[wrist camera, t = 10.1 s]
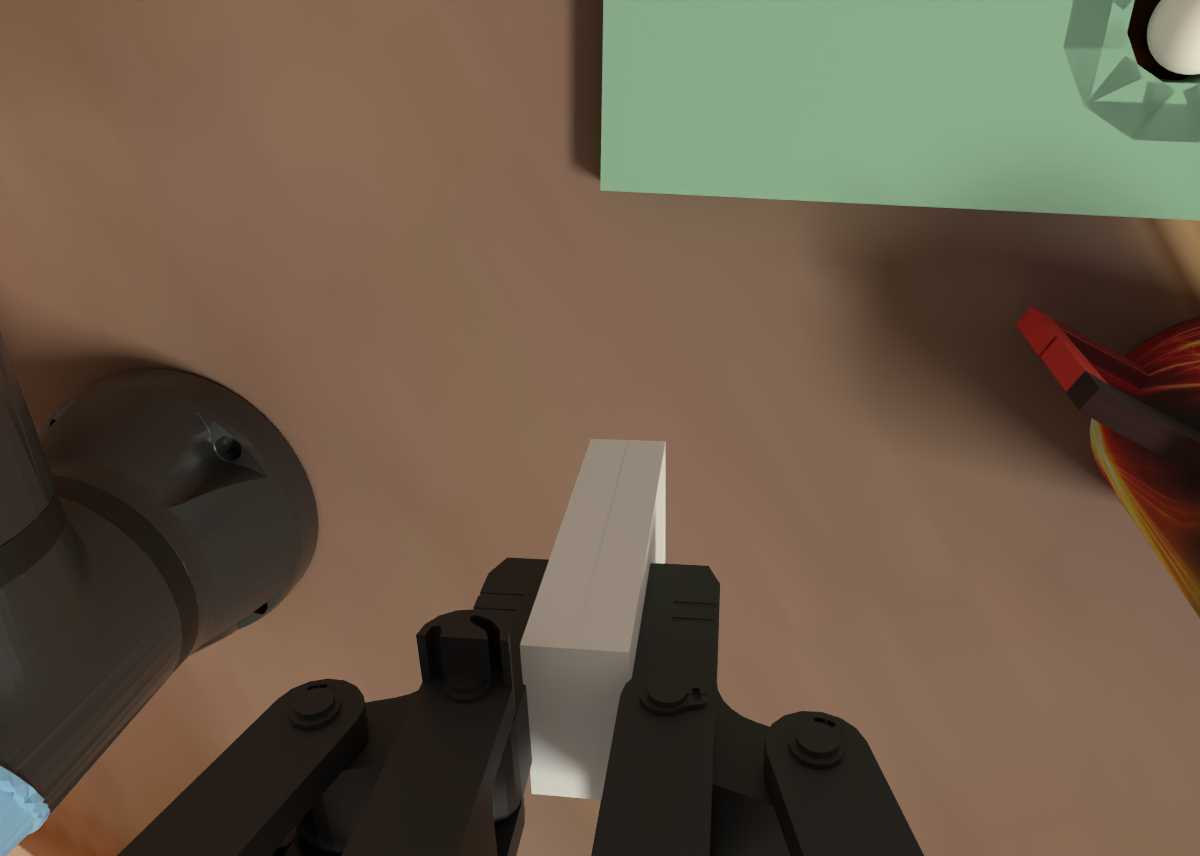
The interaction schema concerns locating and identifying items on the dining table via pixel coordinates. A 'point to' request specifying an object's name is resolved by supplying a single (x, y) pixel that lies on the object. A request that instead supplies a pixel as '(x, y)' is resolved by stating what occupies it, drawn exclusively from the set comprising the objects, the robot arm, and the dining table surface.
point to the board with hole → (897, 105)
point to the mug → (1140, 429)
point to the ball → (1176, 35)
